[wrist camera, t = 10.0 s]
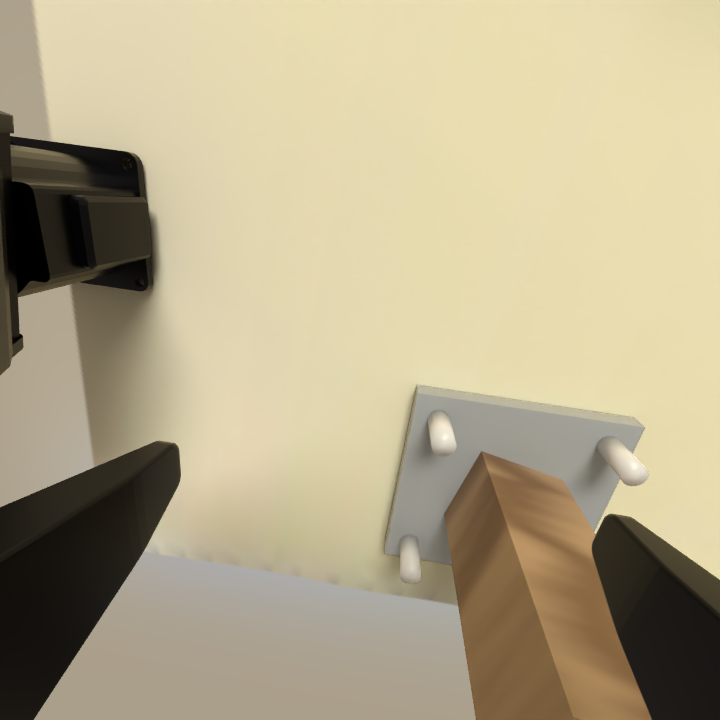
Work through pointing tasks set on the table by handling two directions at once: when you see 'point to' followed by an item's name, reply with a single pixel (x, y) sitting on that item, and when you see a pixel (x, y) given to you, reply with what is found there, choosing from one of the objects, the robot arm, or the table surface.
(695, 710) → the robot arm
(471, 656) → the walnut block
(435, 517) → the peg stand
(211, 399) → the table surface
